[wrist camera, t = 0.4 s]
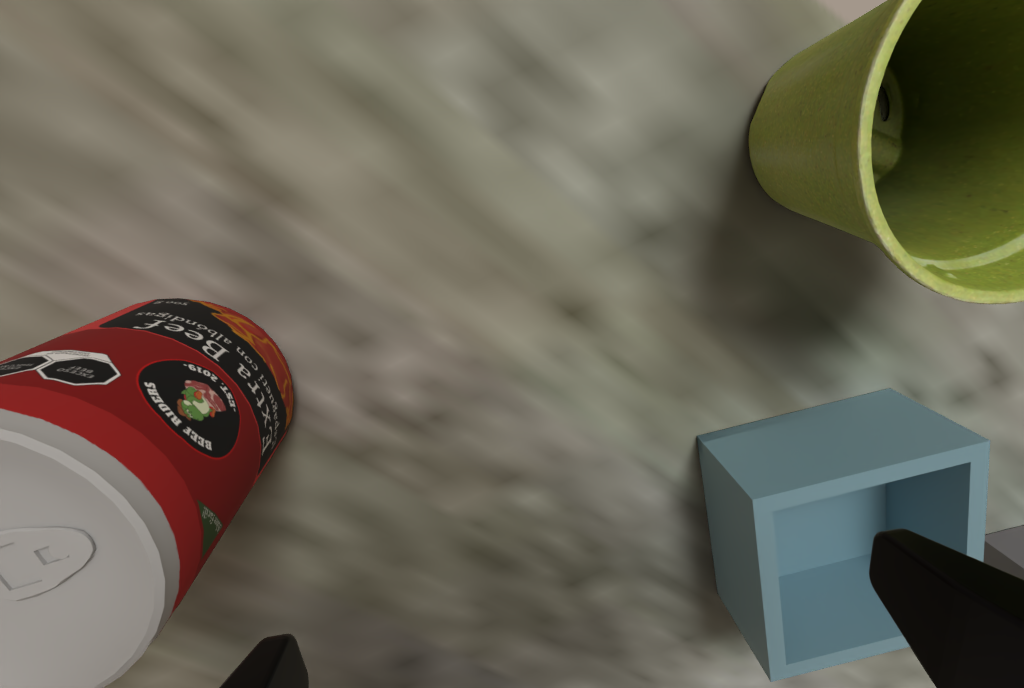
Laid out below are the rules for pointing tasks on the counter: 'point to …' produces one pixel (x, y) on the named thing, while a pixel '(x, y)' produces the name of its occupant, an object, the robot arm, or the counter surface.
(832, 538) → the bin
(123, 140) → the counter surface
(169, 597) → the canned food
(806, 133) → the plant pot
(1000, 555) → the tester
